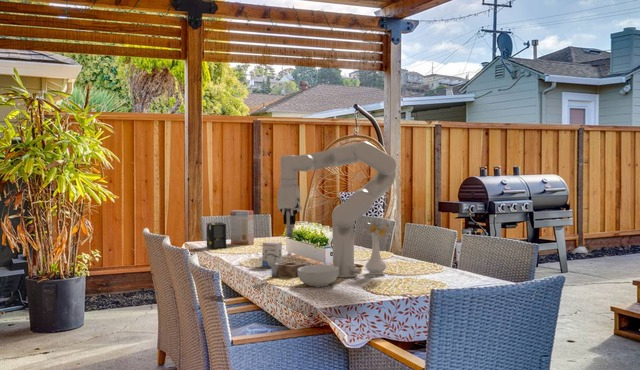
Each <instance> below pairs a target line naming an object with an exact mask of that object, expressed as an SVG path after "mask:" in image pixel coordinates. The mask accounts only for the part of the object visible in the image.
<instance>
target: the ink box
mask: <svg viewBox="0 0 640 370" xmlns="http://www.w3.org/2000/svg"><path fill="white" fill-rule="evenodd" d="M282 243H283V242H282V241H274V240H273V241H272V240H271V241H270V240H267V241H264V242H262V245H261V246H262V247H261V248H262V251H261V252H262V255H261V256H262V263H261V264H262V267H268V268H271V264H272V263H278V264H279V263H283V262H282V260H283V256H282V254H283V253H282V252H283V251H282V249H283V247H282V246H283V245H282Z"/></svg>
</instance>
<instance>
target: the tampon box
mask: <svg viewBox="0 0 640 370" xmlns="http://www.w3.org/2000/svg"><path fill="white" fill-rule="evenodd" d="M206 248H208V249H210V250H219V249H218V248H224V249H227V224H226V223H225V222H221V221H220V222H218V221H217V222H215V221H214V222H207V223H206Z"/></svg>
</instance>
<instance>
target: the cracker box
mask: <svg viewBox="0 0 640 370" xmlns="http://www.w3.org/2000/svg"><path fill="white" fill-rule="evenodd" d="M229 212H230V244H231V245H242V244H244V245H243V246H250V244H251V245H254V244H255V239H254V237H255V234H254V233H255V231H254V229H255V228H254V224H255V223H254V222H255V221H254V210H248V209H247V210H244V209H232V210H230V211H229Z"/></svg>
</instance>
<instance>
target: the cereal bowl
mask: <svg viewBox="0 0 640 370" xmlns="http://www.w3.org/2000/svg"><path fill="white" fill-rule="evenodd" d="M297 278H298V279H299V281H300V282H302V283H303V284H306V285H308V286H309V285H310V286H309V287H311V286H315V287H314V288H322V287H323V286H324V287H327V286H329V284H332V283H334V282H335V281H336V280H337V279H338V278H339V277H338V267H336V266H333V265H327V264H314V265H304V267H300V268H298V277H297ZM320 286H321V287H320Z"/></svg>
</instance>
